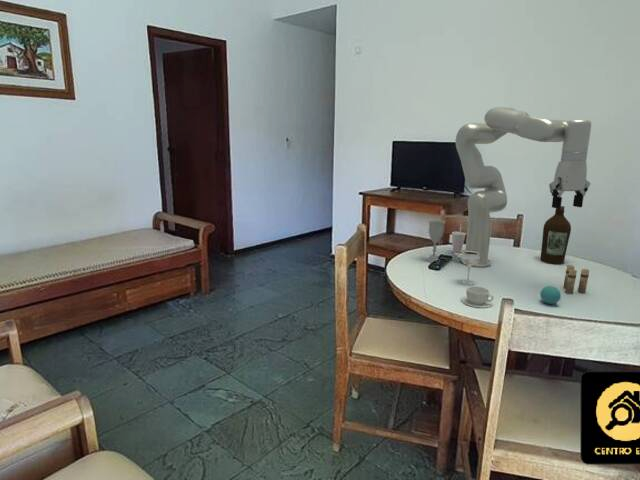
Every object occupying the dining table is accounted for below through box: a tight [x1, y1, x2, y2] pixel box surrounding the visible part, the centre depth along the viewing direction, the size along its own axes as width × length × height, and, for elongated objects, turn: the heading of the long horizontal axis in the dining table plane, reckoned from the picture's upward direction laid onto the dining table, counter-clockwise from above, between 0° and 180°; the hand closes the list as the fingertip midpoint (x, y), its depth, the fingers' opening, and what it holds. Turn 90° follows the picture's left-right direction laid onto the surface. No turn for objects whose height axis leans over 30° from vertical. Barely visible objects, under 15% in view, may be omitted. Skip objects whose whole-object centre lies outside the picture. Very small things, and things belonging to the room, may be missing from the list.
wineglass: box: [460, 249, 480, 286], centre depth 161 cm, size 7×7×12 cm
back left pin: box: [563, 265, 575, 290], centre depth 157 cm, size 2×2×8 cm
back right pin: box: [577, 268, 590, 294], centre depth 153 cm, size 2×2×8 cm
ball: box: [539, 285, 562, 305], centre depth 143 cm, size 6×6×6 cm
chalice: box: [427, 219, 446, 263], centre depth 186 cm, size 7×7×18 cm
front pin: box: [565, 269, 578, 295], centre depth 152 cm, size 2×2×8 cm
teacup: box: [461, 285, 494, 309], centre depth 143 cm, size 10×10×5 cm
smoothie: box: [451, 223, 467, 254], centre depth 200 cm, size 6×6×14 cm
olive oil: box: [540, 205, 572, 265], centre depth 188 cm, size 11×11×25 cm
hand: (566, 207), depth 149 cm, fingers open, 9 cm apart
